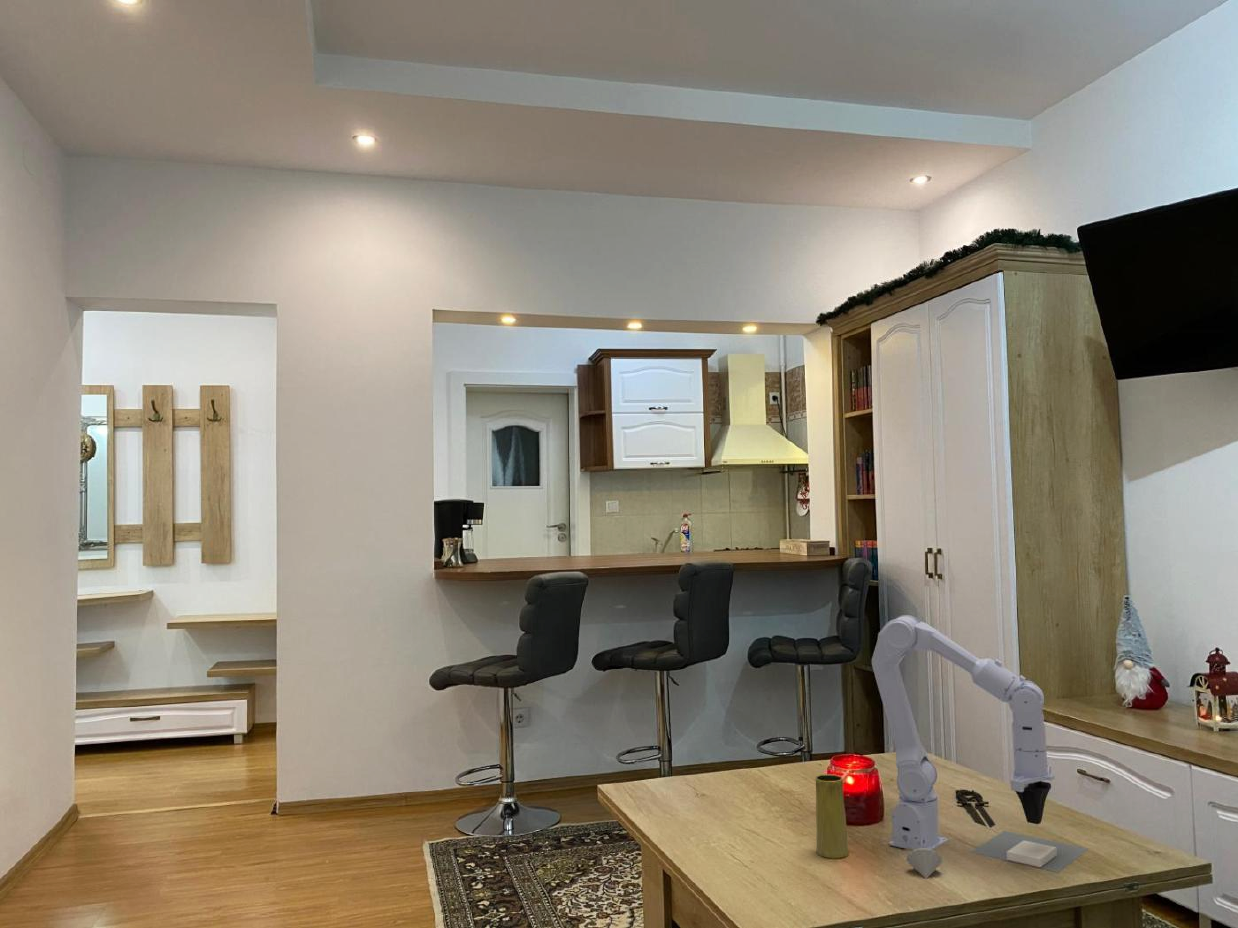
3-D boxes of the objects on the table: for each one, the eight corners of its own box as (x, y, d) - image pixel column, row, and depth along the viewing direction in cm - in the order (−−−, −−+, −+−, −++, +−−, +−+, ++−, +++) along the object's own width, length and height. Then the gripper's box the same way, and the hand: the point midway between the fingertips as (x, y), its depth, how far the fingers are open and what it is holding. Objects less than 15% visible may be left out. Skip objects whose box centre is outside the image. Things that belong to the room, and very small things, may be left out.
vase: (825, 860, 172) (822, 783, 173) (810, 849, 178) (807, 775, 179) (854, 856, 174) (851, 779, 175) (838, 846, 180) (835, 771, 181)
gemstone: (912, 866, 161) (909, 840, 165) (905, 885, 164) (902, 859, 168) (948, 872, 160) (945, 846, 164) (940, 890, 164) (937, 864, 168)
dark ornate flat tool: (999, 833, 186) (998, 826, 186) (964, 831, 188) (963, 824, 188) (983, 795, 211) (983, 789, 211) (952, 794, 213) (952, 788, 213)
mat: (1058, 874, 162) (1058, 872, 162) (969, 854, 173) (969, 851, 173) (1088, 850, 173) (1088, 848, 173) (1004, 832, 185) (1004, 830, 185)
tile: (1057, 856, 170) (1040, 868, 164) (1024, 848, 174) (1007, 860, 168) (1056, 847, 170) (1040, 859, 164) (1023, 840, 174) (1006, 851, 169)
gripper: (1036, 759, 164) (1041, 836, 163) (1065, 744, 174) (1070, 817, 173) (997, 753, 169) (1002, 828, 168) (1028, 739, 179) (1032, 809, 178)
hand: (1034, 822), depth 171 cm, fingers closed
